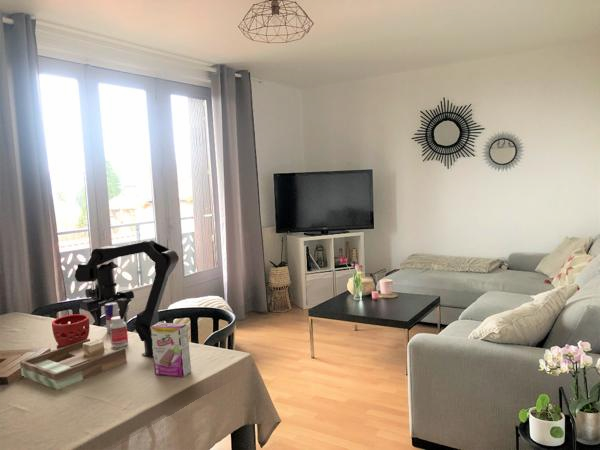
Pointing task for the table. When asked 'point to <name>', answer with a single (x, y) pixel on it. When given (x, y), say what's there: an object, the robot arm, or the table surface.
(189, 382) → the table surface
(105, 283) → the robot arm
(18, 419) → the table surface
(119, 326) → the pill bottle
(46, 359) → the box
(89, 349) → the maple block
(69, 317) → the plant pot
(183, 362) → the candy bar box
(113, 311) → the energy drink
